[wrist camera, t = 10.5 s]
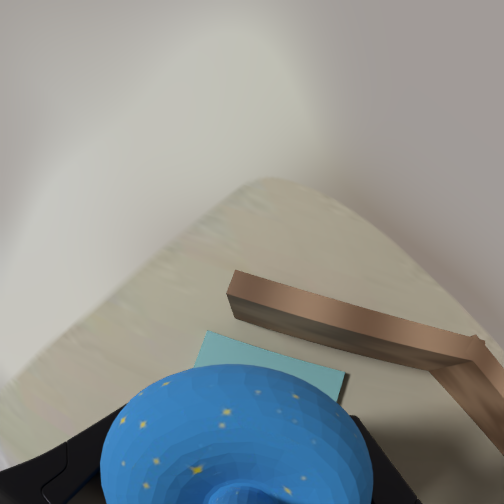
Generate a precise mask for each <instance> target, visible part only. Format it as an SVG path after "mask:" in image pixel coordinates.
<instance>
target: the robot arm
mask: <svg viewBox="0 0 504 504" xmlns="http://www.w3.org/2000/svg"><path fill="white" fill-rule="evenodd" d="M126 405H127V404H125V405H124V406H122V407H121V408H119V409H118V410H116V411H114V412H113V413H111V414H110V415H108V416H106V417H105V418H103V419H102V420H100V421H99V422H97V423H95V424H94V425H92V426H90V427H89V428H87V429H86V430H84V431H82V432H81V433H79V434H77V435H76V436H74V437H72V438H71V439H69V440H68V441H67V442H64V443H62V444H60V445H59V446H57V447H55V448H53V449H51V450H50V451H48V452H46V453H44V454H42V455H40V456H38V457H35V458H33V459H31V460H29V461H26V462H24V463H21V464H18V465H16V466H13V467H11V468H8V469H5V470H3V471H0V504H107V503H106V499H105V496H104V492H103V489H102V485H101V471H100V461H101V455H102V450H103V445H104V442H105V439H106V436H107V434H108V432H109V430H110V428H111V426H112V424H113V422H114V420H115V419H116V417H117V416H118V414H119V413H120V411H121V410H122V409H123V408H124V407H125V406H126ZM349 416H350V417H351V418H352V420H353V421H354V422H355V424H356V426H357V427H358V429H359V430H360V432H361V434H362V436H363V438H364V440H365V443H366V446H367V449H368V452H369V456H370V460H371V463H372V470H373V492H372V498H371V504H422V503H421V501H420V500H419V499H417V496H416V495H415V494H414V492H413V491H412V490H411V488H410V487H409V486H408V484H407V483H406V482H405V480H404V479H403V478H402V476H401V475H400V474H399V472H398V471H397V470H396V468H395V467H394V466H393V464H392V463H391V462H390V460H389V459H388V458H387V456H386V455H385V453H384V452H383V451H382V449H381V448H380V447H379V445H378V444H377V443H376V441H375V440H374V439H373V437H372V436H371V435H370V433H369V432H368V430H367V429H366V428H365V426H364V425H363V424H362V422H361V421H360V420H359V418H358V417H357V416H354V415H349Z"/></svg>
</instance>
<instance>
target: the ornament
mask: <svg viewBox="0 0 504 504" xmlns="http://www.w3.org/2000/svg"><path fill="white" fill-rule="evenodd" d="M100 471H101V485H102V489H103V492H104V496H105V499H106V503H107V504H371V498H372V492H373V470H372V463H371V460H370V456H369V452H368V449H367V446H366V443H365V440H364V438H363V436H362V434H361V432H360V430H359V429H358V427H357V426H356V424H355V422H354V421H353V420H352V418H351V417H350V416H349V415H348V414H347V412H346V411H345V410H344V409H343V408H342V407H341V406H340V405H339V404H338V403H336V402H335V401H334V400H333V399H332V398H330V397H329V396H328V395H327V394H325V393H324V392H322V391H321V390H320V389H318V388H317V387H315V386H313V385H311V384H310V383H308V382H306V381H304V380H302V379H300V378H298V377H295V376H293V375H290V374H287V373H284V372H282V371H278V370H274V369H270V368H266V367H260V366H255V365H244V364H219V365H210V366H204V367H198V368H192V369H189V370H186V371H183V372H180V373H176V374H173V375H170V376H167V377H165V378H163V379H161V380H159V381H157V382H155V383H153V384H151V385H150V386H148V387H147V388H145V389H144V390H142V391H140V392H139V393H138V394H137V395H136V396H135V397H133V398H132V399H131V400H130V401H129V402H128V403H127V405H126V406H125V407H124V408H123V409H122V410H121V411H120V413H119V414H118V416H117V417H116V419H115V420H114V422H113V424H112V426H111V428H110V430H109V432H108V434H107V436H106V439H105V442H104V445H103V450H102V455H101V461H100Z"/></svg>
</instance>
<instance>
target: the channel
mask: <svg viewBox="0 0 504 504" xmlns="http://www.w3.org/2000/svg"><path fill="white" fill-rule="evenodd" d="M226 294H227V297H228V300H229V303H230V306H231V309H232V312H233V315H234V317H235V318H236V319H239V320H242V321H245V322H248V323H252V324H255V325H258V326H261V327H264V328H267V329H271V330H274V331H277V332H280V333H284V334H287V335H290V336H294V337H297V338H300V339H304V340H307V341H311V342H314V343H318V344H322V345H325V346H329V347H332V348H336V349H340V350H344V351H347V352H351V353H355V354H359V355H363V356H367V357H371V358H375V359H379V360H383V361H387V362H391V363H396V364H400V365H404V366H409V367H413V368H418V369H423V370H427V371H429V372H430V373H431V374H432V375H433V376H434V377H435V379H436V380H437V381H438V382H439V383H440V384H441V385H442V386H443V387H444V388H445V389H446V390H447V392H448V393H449V394H450V395H451V396H452V397H453V398H454V399H455V400H456V402H457V403H458V404H459V405H460V406H461V407H462V408H463V409H464V410H465V412H466V413H467V414H468V415H469V416H470V417H471V418H472V419H473V421H474V422H475V423H476V424H477V425H478V426H479V427H480V429H481V430H482V431H483V432H484V433H485V434H486V436H487V437H488V438H489V439H490V440H491V441H492V443H493V444H494V445H495V446H496V447H497V448H498V450H499V451H500V452H501V453H502V454H503V456H504V368H503V367H502V366H501V365H500V363H499V362H498V361H497V359H496V358H495V357H494V356H493V355H492V353H491V352H490V351H489V350H488V348H487V347H486V346H485V341H484V340H480V339H479V338H478V336H477V335H473V336H471V337H469V336H465V335H461V334H457V333H453V332H450V331H446V330H442V329H438V328H435V327H431V326H427V325H424V324H420V323H416V322H413V321H409V320H405V319H402V318H398V317H394V316H391V315H387V314H384V313H380V312H377V311H373V310H370V309H366V308H362V307H359V306H355V305H352V304H349V303H345V302H342V301H338V300H335V299H331V298H328V297H324V296H321V295H318V294H314V293H311V292H307V291H304V290H301V289H297V288H294V287H291V286H287V285H284V284H281V283H277V282H274V281H271V280H267V279H264V278H261V277H257V276H254V275H251V274H248V273H244V272H241V271H238V270H235V272H234V274H233V277H232V280H231V282H230V285H229V288H228V290H227V293H226Z"/></svg>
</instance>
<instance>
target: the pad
mask: <svg viewBox="0 0 504 504" xmlns="http://www.w3.org/2000/svg"><path fill="white" fill-rule="evenodd" d="M219 364H244V365H255V366H260V367H266V368H270V369H274V370H278V371H282V372H284V373H287V374H290V375H293V376H295V377H298V378H300V379H302V380H304V381H306V382H308V383H310V384H311V385H313V386H315V387H317V388H318V389H320V390H321V391H322V392H324V393H325V394H327V395H328V396H329V397H330V398H332V399H333V400H334V401H335V402H336V401H337V398H338V395H339V392H340V388H341V385H342V381H343V378H344V375H345V372H343V371H339V370H335V369H331V368H327V367H323V366H320V365H316V364H312V363H309V362H305V361H302V360H298V359H295V358H291V357H288V356H284V355H281V354H278V353H274V352H271V351H268V350H265V349H262V348H258V347H255V346H252V345H249V344H246V343H243V342H240V341H237V340H234V339H231V338H228V337H225V336H222V335H219V334H217V333H214V332H211V331H208V330H207V333H206V336H205V338H204V341H203V344H202V346H201V349H200V351H199V354H198V357H197V359H196V362H195V365H194V367H193V368H198V367H204V366H210V365H219Z"/></svg>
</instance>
